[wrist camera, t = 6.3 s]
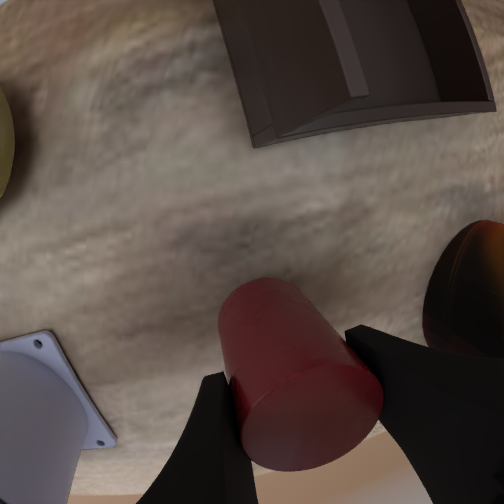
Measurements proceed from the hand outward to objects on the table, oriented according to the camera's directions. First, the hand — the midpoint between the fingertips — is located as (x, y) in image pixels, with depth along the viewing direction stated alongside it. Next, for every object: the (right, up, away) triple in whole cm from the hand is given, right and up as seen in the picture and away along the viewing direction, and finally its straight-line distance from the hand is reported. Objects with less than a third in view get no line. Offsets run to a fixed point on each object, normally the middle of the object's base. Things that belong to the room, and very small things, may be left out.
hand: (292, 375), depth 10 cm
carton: (+3, +15, +2) cm, 15 cm away
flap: (-1, +12, -5) cm, 13 cm away
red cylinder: (-1, +1, +4) cm, 4 cm away
